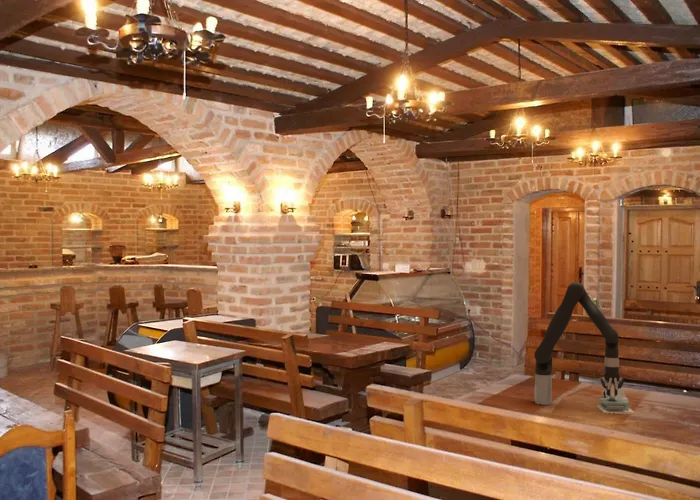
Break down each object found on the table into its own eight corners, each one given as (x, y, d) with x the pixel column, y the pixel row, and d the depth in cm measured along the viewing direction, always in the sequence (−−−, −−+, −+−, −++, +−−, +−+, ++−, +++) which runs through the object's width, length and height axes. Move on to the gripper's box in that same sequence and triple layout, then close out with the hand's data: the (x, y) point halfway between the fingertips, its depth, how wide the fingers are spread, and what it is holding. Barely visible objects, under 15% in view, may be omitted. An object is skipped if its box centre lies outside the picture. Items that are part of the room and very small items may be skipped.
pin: (610, 403, 355) (609, 384, 355) (608, 402, 358) (608, 382, 358) (615, 403, 355) (615, 384, 355) (613, 402, 358) (613, 382, 358)
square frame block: (604, 413, 350) (604, 404, 349) (597, 407, 363) (597, 398, 362) (634, 413, 348) (634, 404, 348) (626, 407, 361) (626, 398, 361)
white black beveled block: (611, 405, 365) (605, 388, 368) (604, 406, 369) (599, 389, 372) (629, 401, 374) (624, 384, 376) (622, 402, 378) (617, 385, 380)
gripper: (600, 366, 353) (601, 397, 354) (627, 366, 352) (627, 397, 352) (596, 363, 361) (597, 394, 361) (622, 363, 359) (622, 394, 360)
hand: (612, 395), depth 357 cm, fingers closed on pin, 3 cm apart
